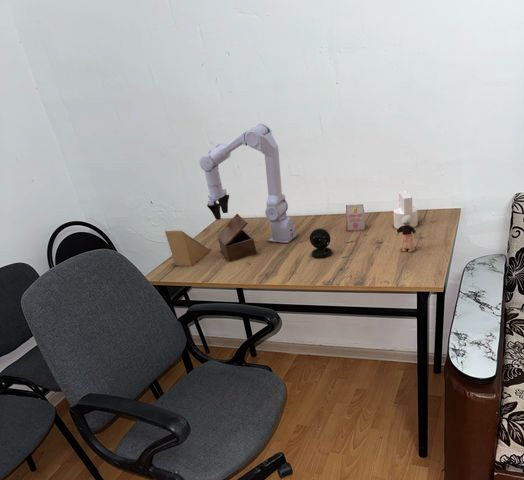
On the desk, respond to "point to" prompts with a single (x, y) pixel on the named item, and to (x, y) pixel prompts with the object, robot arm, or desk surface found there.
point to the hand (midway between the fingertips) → (221, 215)
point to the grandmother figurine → (407, 234)
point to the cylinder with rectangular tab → (405, 210)
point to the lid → (232, 229)
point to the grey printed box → (355, 217)
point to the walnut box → (238, 246)
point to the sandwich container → (185, 248)
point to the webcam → (320, 243)
